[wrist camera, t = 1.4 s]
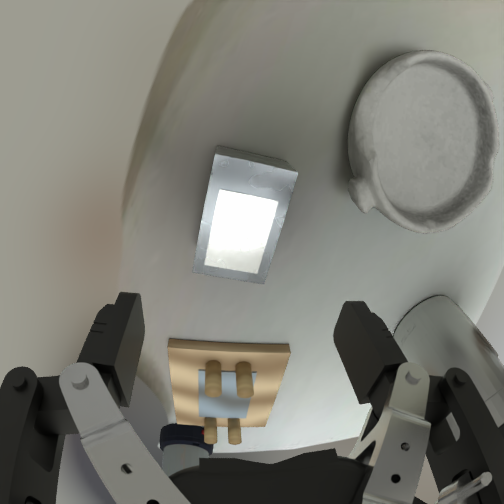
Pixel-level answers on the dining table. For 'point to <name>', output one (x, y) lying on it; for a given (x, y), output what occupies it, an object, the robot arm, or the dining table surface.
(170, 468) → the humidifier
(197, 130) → the dining table surface
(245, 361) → the wooden peg board
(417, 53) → the dish
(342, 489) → the robot arm
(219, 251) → the block
